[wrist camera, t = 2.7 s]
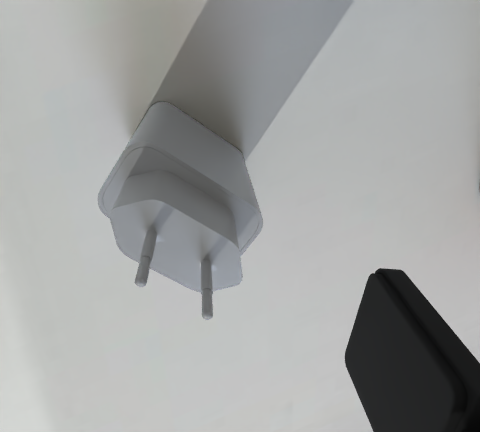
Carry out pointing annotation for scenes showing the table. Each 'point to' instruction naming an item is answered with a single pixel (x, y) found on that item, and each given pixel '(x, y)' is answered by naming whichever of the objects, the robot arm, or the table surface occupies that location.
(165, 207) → the power adapter
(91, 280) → the table surface
